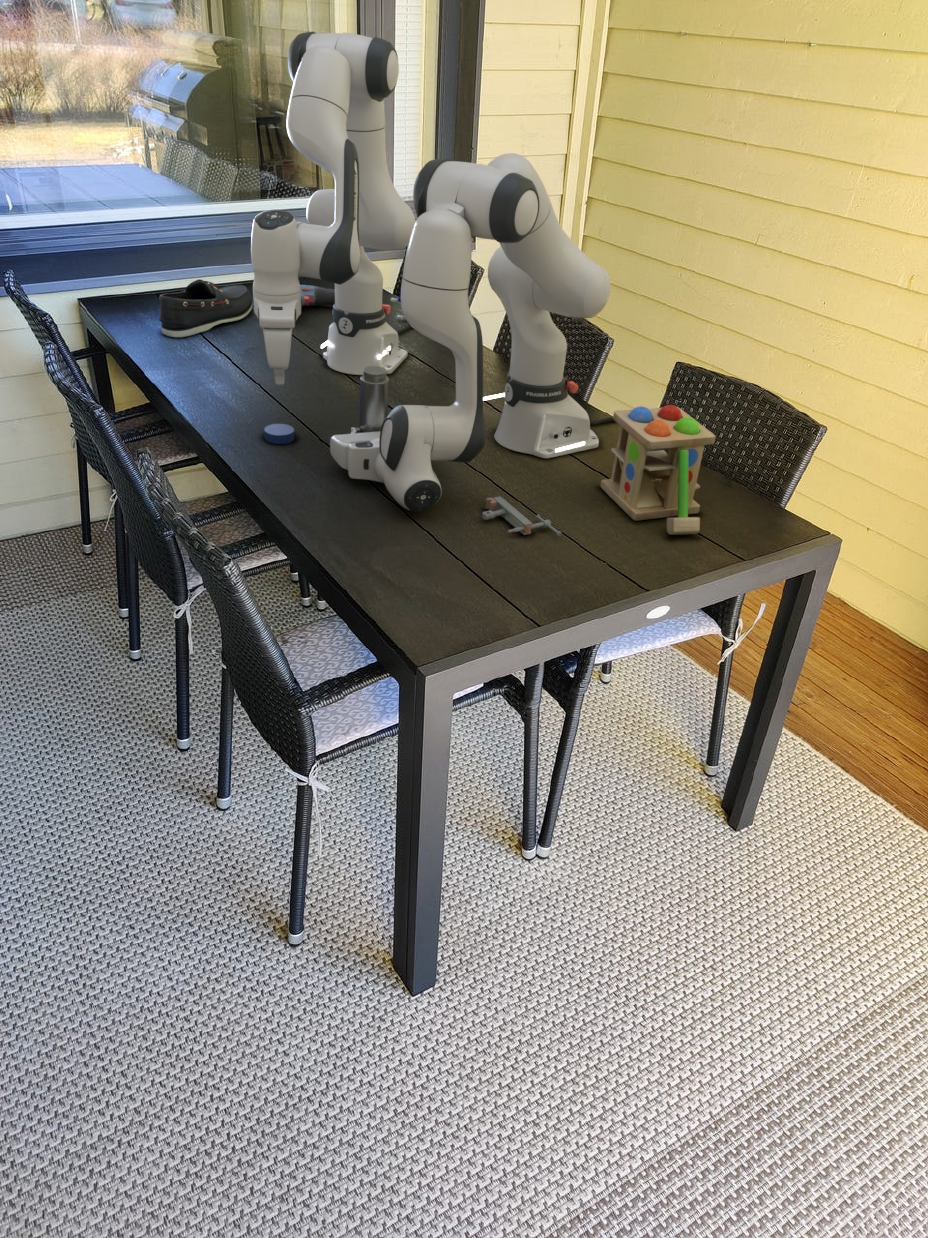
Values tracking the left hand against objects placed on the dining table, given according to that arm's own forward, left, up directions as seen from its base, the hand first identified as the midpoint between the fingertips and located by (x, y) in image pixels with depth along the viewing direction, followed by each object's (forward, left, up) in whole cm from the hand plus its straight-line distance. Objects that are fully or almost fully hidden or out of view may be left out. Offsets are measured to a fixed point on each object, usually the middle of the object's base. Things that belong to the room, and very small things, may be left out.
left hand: (280, 373), depth 193 cm
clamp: (+8, +56, -13) cm, 58 cm away
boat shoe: (-49, -55, -13) cm, 75 cm away
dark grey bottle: (-3, +20, -13) cm, 24 cm away
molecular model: (-82, -13, -13) cm, 84 cm away
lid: (+1, 0, -12) cm, 12 cm away
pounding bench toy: (-13, +77, -13) cm, 79 cm away
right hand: (-4, +19, -8) cm, 21 cm away
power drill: (-71, -39, -13) cm, 82 cm away
